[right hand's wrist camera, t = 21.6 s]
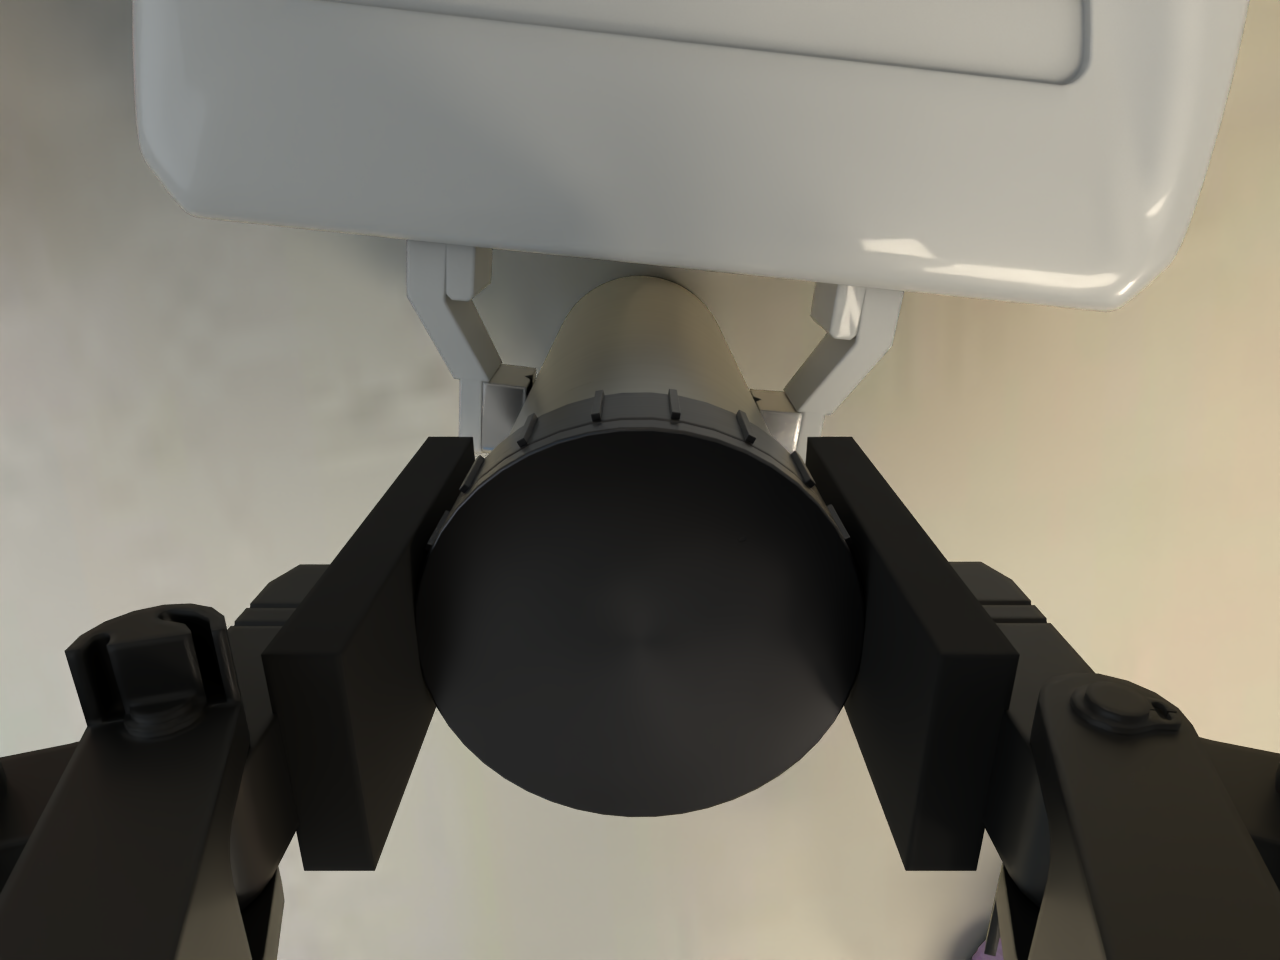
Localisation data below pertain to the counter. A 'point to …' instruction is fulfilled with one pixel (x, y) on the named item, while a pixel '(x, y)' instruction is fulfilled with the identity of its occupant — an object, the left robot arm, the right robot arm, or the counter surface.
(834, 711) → the lid
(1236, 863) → the right robot arm
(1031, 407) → the counter surface
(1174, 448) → the counter surface
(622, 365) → the thermos bottle
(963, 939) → the counter surface
